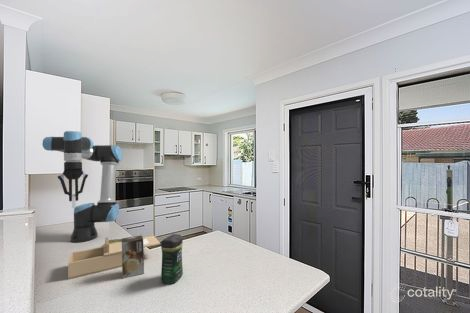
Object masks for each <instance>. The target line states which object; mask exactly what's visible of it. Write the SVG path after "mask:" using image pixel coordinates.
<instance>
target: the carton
mask: <svg viewBox="0 0 470 313" xmlns="http://www.w3.org/2000/svg"><path fill="white" fill-rule="evenodd" d="M108 241H109V244H112V243H117V242H122V238H118V239H108ZM103 245H105V243H104V244H103ZM103 245H101V246H100V247H103Z"/></svg>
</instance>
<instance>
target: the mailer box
mask: <svg viewBox="0 0 470 313" xmlns="http://www.w3.org/2000/svg"><path fill="white" fill-rule="evenodd" d="M69 255H70V256H69V260H68V263H67V280H68V281H69V280H72V279H77V278H80V277H85V276H89V275H94V274H97V273H102V272H105V271H111V270H115V269H118V268H122V252H120V253H116V254H111V255H106V256H104V249H103V247H101V246H100V247H95V248H90V249H84V250H79V251H74V252H70V254H69Z"/></svg>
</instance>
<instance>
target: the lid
mask: <svg viewBox="0 0 470 313" xmlns="http://www.w3.org/2000/svg"><path fill="white" fill-rule="evenodd" d="M104 240H105V243H104V244H105V245H104V244H103V249H104V256H106V255H111V254H116V253H120V252H122V242H117V243H112V244H109V237H104ZM157 245H158V246H159V245H161V242H160V241H159V240H158V239H157V237H156V235H151V236H145V237H143V249H144V248H148V247H153V246H157Z"/></svg>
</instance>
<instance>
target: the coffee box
mask: <svg viewBox="0 0 470 313" xmlns="http://www.w3.org/2000/svg"><path fill="white" fill-rule="evenodd" d="M143 238H144V237H143V235H142V234H141V235H137V236H136V235H134V236H129V237H123V238H121V239H122V267H121V274H122V275H121V276H122V279H126V278H131V277H135V276H138V275H144V274H145V261H144V260H145V259H144V258H145V257H144V255H145V254H144V253H145V252H144V248H143Z"/></svg>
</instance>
